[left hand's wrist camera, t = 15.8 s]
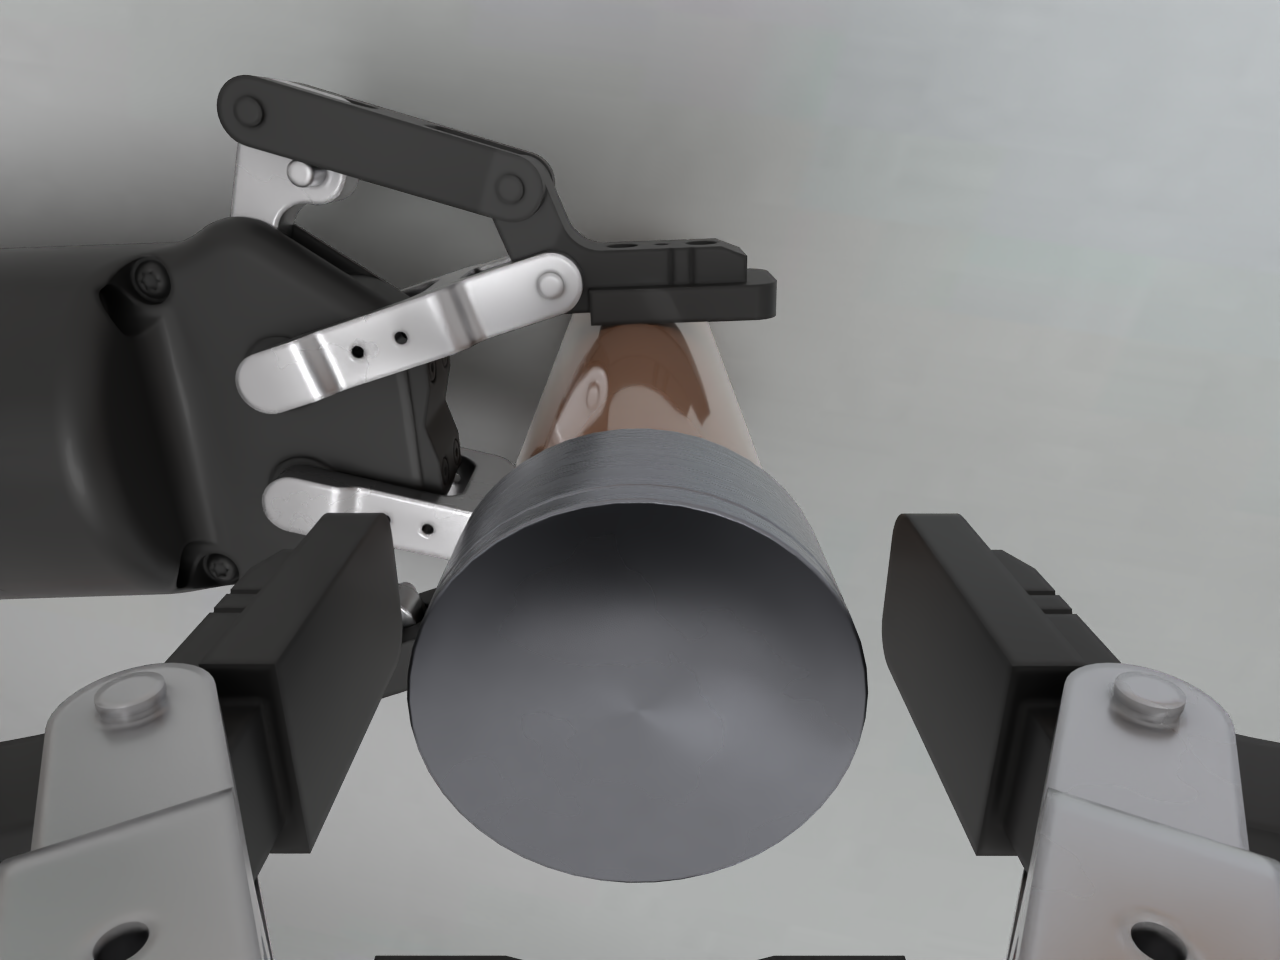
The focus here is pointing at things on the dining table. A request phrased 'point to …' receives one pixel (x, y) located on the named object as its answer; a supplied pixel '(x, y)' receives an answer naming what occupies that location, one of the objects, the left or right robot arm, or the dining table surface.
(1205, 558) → the dining table surface
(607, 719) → the lid
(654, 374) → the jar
